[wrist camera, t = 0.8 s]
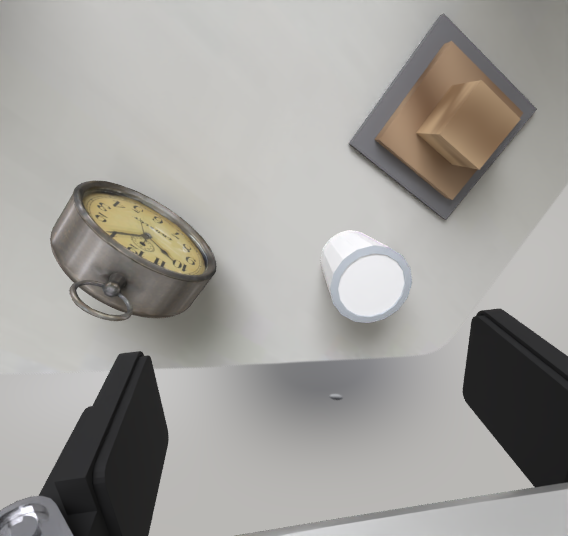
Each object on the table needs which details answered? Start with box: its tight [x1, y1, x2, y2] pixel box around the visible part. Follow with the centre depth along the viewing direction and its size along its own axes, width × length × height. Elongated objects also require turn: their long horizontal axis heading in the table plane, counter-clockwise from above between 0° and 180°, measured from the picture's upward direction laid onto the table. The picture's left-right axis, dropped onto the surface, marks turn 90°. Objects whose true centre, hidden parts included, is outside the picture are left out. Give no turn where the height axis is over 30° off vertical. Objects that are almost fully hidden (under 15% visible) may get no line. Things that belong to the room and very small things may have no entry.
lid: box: [375, 41, 523, 200], centre depth 31 cm, size 9×9×5 cm
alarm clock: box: [50, 181, 216, 321], centre depth 27 cm, size 11×5×16 cm, turn 53°
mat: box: [349, 14, 537, 219], centre depth 34 cm, size 12×12×1 cm
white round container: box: [320, 230, 412, 323], centre depth 34 cm, size 7×7×7 cm
